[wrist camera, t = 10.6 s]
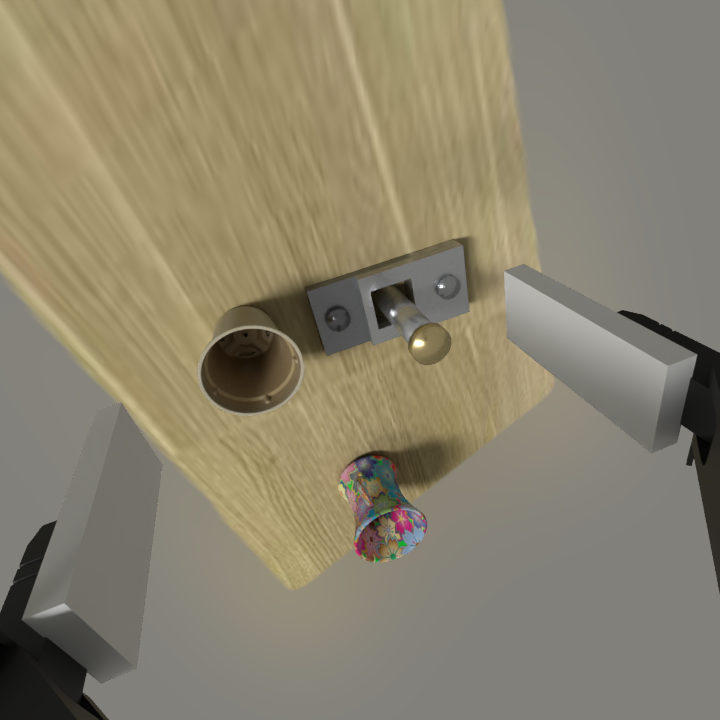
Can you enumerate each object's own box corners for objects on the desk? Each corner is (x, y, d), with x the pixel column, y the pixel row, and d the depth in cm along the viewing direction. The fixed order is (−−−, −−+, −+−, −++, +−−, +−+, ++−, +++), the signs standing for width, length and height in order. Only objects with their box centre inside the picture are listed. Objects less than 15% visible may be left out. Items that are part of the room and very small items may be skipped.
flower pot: (265, 274, 45) (276, 307, 38) (304, 346, 51) (320, 387, 43) (180, 315, 45) (174, 357, 38) (228, 384, 50) (232, 432, 43)
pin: (368, 287, 49) (409, 335, 39) (400, 277, 50) (448, 321, 40) (375, 317, 51) (415, 370, 41) (405, 307, 52) (453, 356, 42)
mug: (406, 477, 66) (437, 536, 57) (351, 509, 66) (374, 573, 57) (373, 425, 59) (402, 482, 50) (312, 461, 59) (330, 524, 50)
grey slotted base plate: (304, 287, 47) (310, 298, 45) (452, 239, 49) (465, 246, 47) (324, 350, 51) (330, 363, 49) (459, 303, 54) (471, 313, 51)
